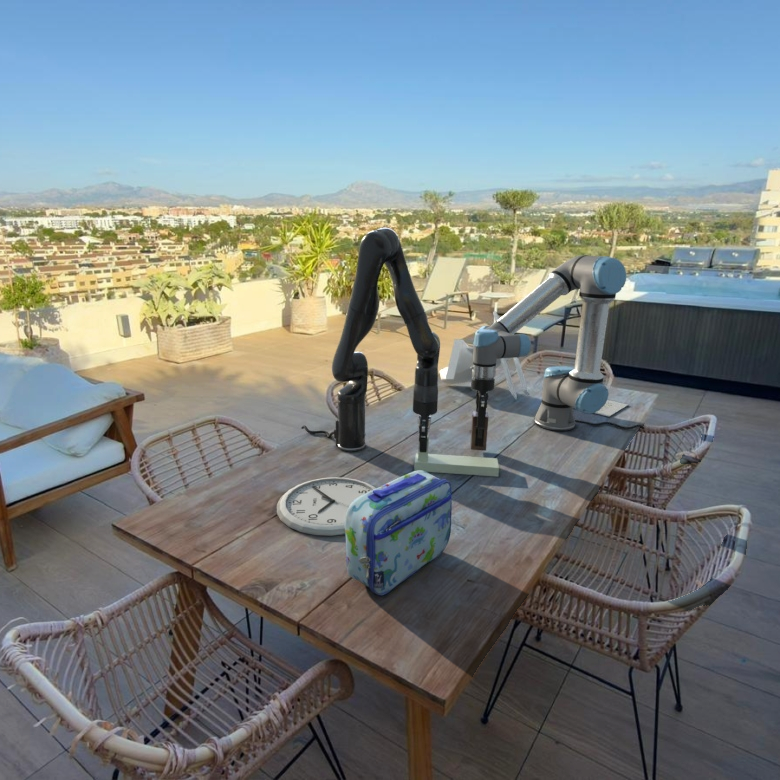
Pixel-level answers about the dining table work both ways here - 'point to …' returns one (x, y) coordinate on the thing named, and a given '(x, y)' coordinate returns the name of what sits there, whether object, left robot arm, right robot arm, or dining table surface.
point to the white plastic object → (464, 361)
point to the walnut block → (473, 432)
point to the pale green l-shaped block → (455, 464)
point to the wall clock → (320, 505)
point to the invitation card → (611, 408)
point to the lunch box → (397, 529)
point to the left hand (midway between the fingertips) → (423, 448)
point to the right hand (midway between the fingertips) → (478, 442)
